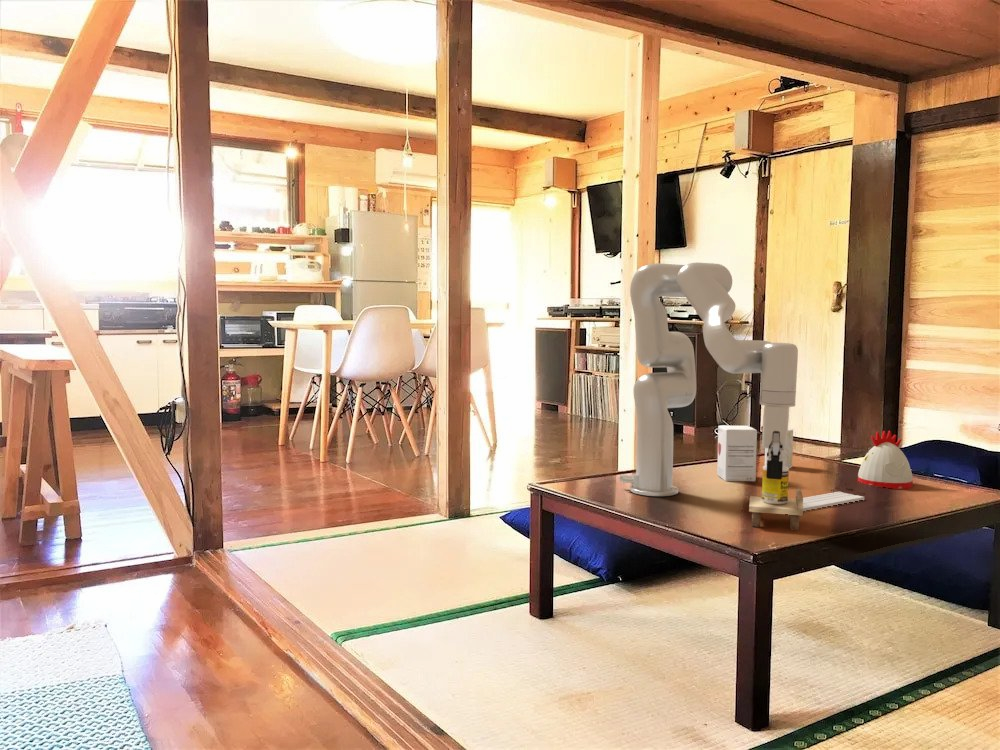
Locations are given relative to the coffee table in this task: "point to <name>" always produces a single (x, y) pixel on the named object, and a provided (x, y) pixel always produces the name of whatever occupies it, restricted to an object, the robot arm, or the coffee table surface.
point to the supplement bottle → (775, 486)
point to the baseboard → (829, 500)
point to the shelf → (777, 509)
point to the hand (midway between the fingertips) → (773, 474)
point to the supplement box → (737, 453)
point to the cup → (786, 449)
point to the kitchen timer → (886, 464)
